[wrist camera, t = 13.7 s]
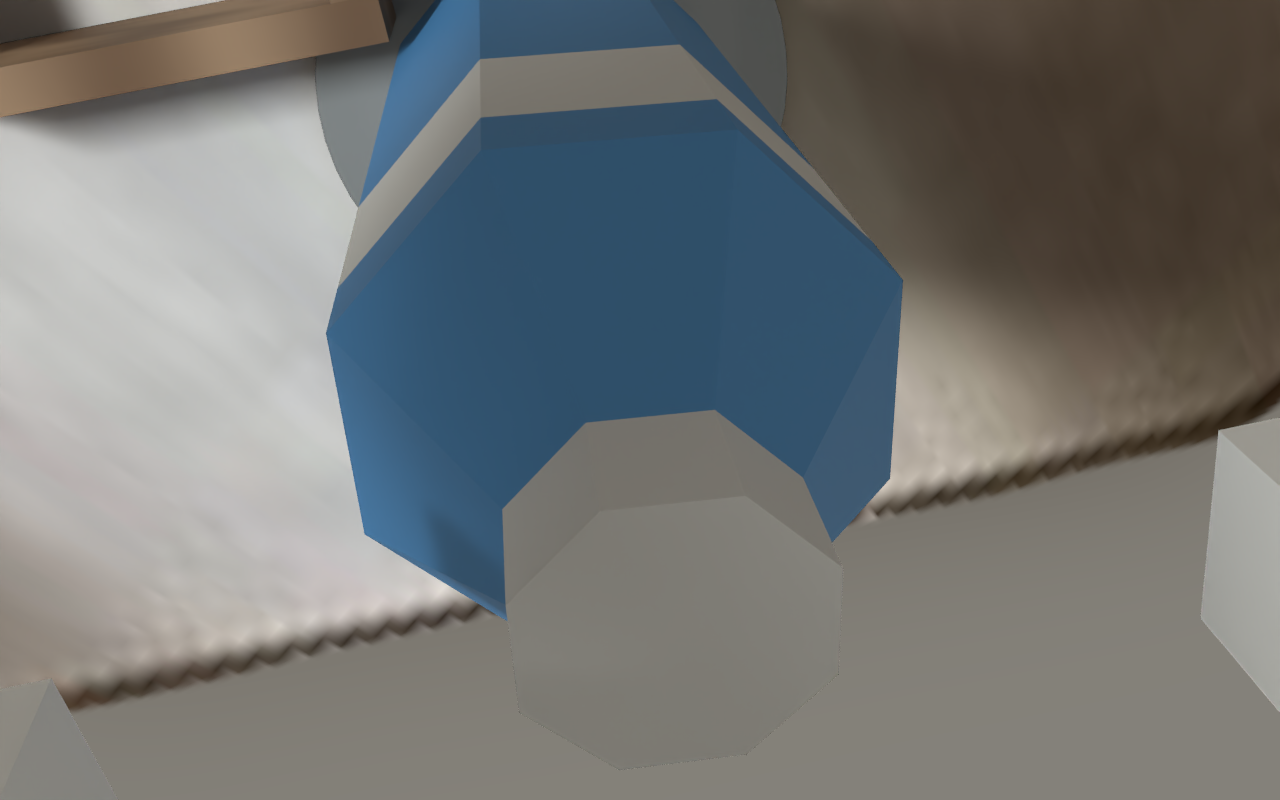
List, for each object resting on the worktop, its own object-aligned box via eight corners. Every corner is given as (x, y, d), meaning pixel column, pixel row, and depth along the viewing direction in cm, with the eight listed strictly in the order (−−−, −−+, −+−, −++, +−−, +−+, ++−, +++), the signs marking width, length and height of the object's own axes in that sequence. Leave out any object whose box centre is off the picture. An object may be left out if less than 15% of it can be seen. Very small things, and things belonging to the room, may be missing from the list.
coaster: (389, 337, 40) (387, 347, 39) (254, -115, 33) (249, -111, 32) (801, 254, 40) (807, 263, 39) (754, -209, 33) (759, -208, 32)
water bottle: (491, 290, 38) (511, 1003, 17) (333, 21, 34) (74, 516, 12) (756, 159, 37) (1148, 739, 16) (628, -135, 33) (929, 98, 11)
